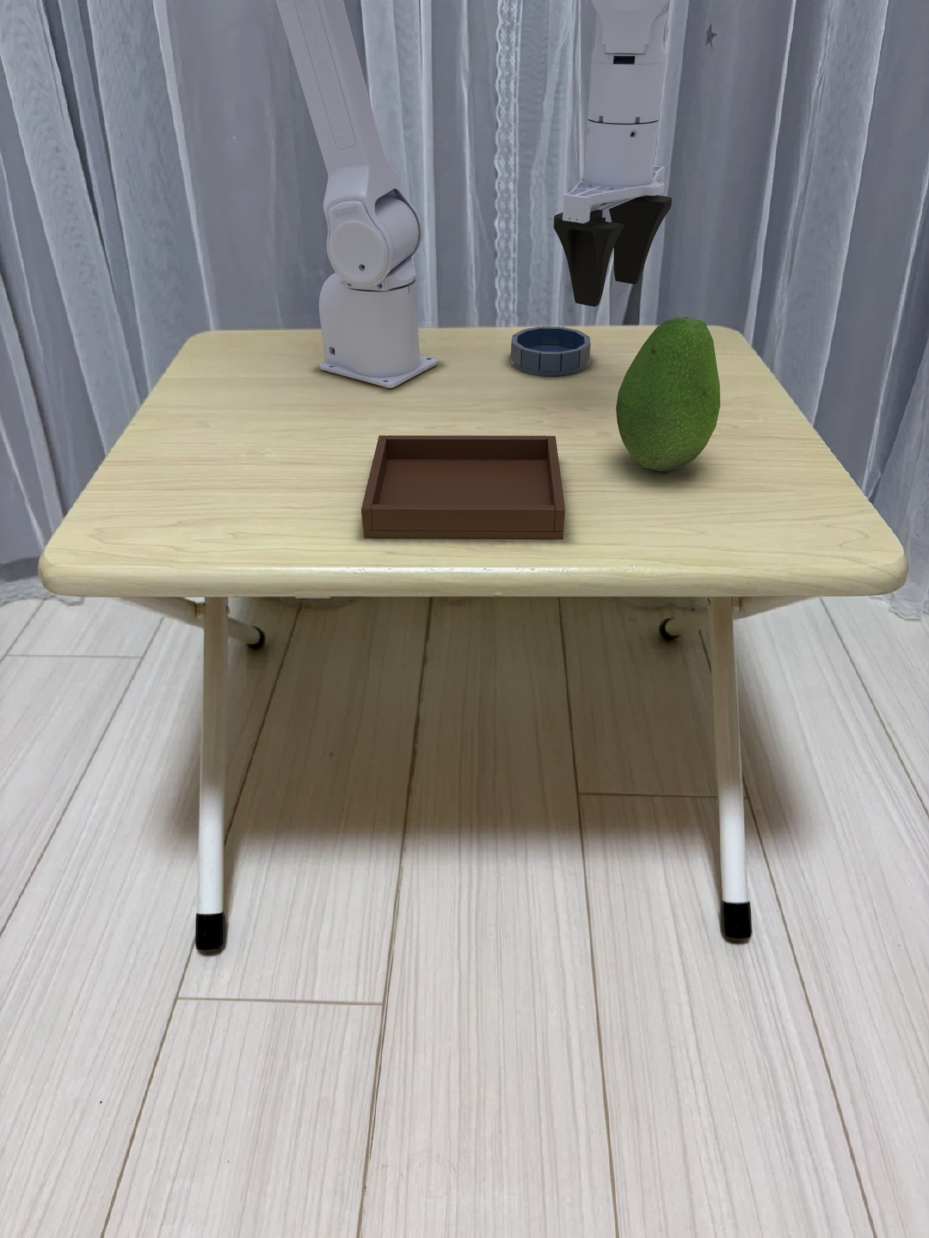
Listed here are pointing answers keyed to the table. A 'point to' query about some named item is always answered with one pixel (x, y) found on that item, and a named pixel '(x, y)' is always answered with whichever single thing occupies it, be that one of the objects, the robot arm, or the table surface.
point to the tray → (464, 488)
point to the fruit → (670, 396)
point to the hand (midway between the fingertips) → (607, 292)
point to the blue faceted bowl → (550, 351)
